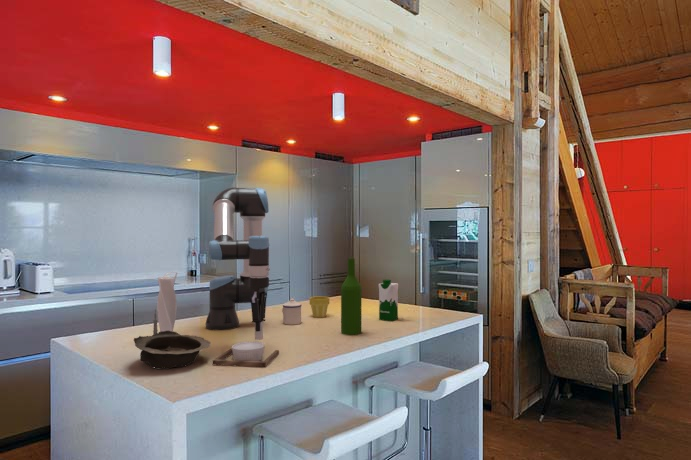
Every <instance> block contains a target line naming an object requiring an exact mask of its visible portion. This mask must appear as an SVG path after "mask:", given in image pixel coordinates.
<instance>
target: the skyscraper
mask: <svg viewBox="0 0 691 460" xmlns="http://www.w3.org/2000/svg"><path fill="white" fill-rule="evenodd" d="M170 274H175V275H174V277H171V275H170ZM177 276H178V271H169V272H167V273H165V274H164V276H160V277H158V278H157V281H158V285H159V291H158V296H157V303H156V305H157V306H156V308H157V309H154V319H153V330H152V332H153V333H152V335H154V334H156V333H158V332H161V331H172V332H175V331H174V328H175V323H176V318H177V311H178V310H177V309H178V306H177V295H176V292H175V288H174V287H175V284H176V283H175V282H176V278H177ZM158 327H159V330H160V331H158Z"/></svg>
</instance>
